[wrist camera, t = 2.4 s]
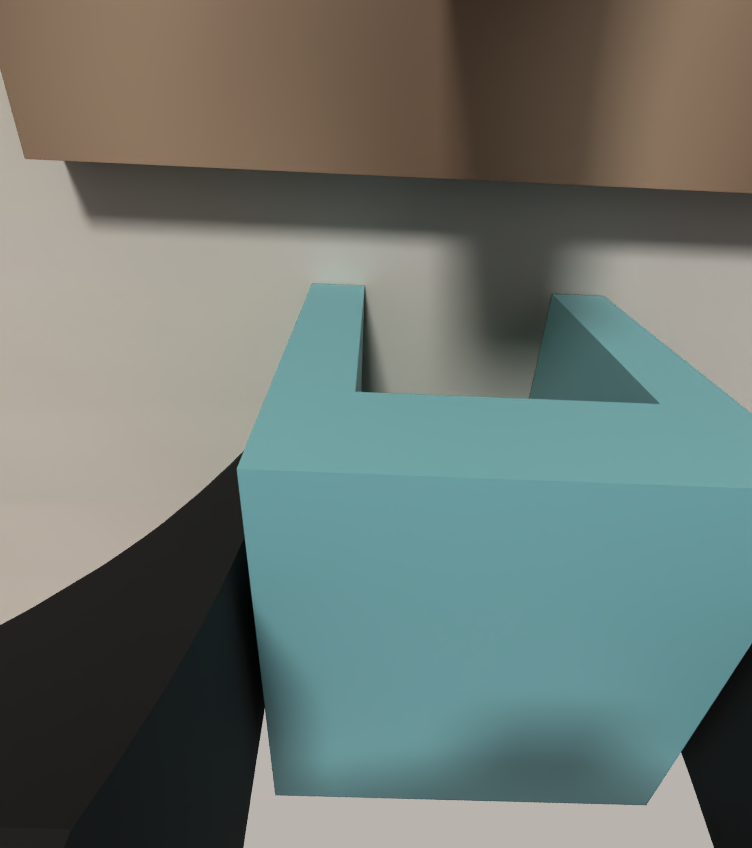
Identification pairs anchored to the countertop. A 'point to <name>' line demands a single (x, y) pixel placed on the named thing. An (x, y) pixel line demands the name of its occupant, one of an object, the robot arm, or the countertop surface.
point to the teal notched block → (495, 566)
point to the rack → (392, 87)
